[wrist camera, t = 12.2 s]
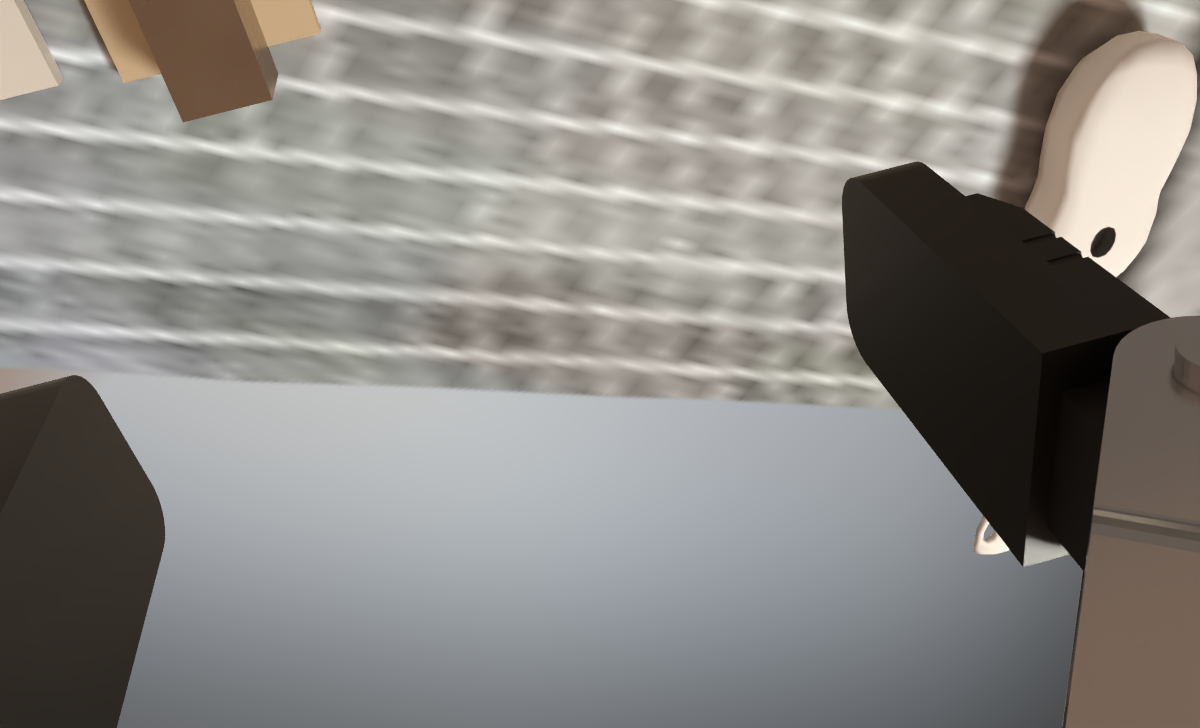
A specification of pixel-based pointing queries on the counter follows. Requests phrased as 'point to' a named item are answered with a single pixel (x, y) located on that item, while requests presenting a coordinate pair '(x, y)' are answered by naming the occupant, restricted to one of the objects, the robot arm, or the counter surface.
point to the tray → (276, 7)
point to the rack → (23, 53)
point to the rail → (208, 53)
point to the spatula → (1111, 155)
